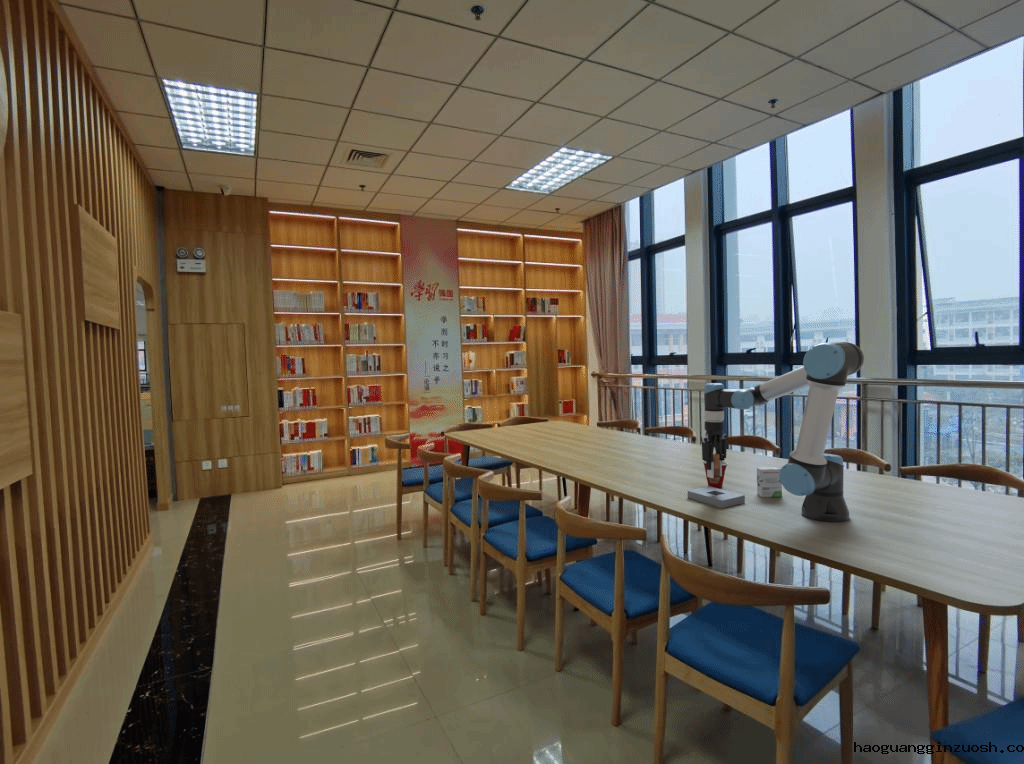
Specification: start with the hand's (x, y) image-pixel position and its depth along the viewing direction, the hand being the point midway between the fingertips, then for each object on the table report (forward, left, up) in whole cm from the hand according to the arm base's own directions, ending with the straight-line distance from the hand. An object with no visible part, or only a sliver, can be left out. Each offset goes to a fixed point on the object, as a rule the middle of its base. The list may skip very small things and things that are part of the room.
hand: (714, 476), depth 217 cm
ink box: (-8, -23, -10) cm, 26 cm away
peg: (0, 0, -3) cm, 3 cm away
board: (0, 0, -10) cm, 10 cm away
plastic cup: (+14, -16, -10) cm, 23 cm away
